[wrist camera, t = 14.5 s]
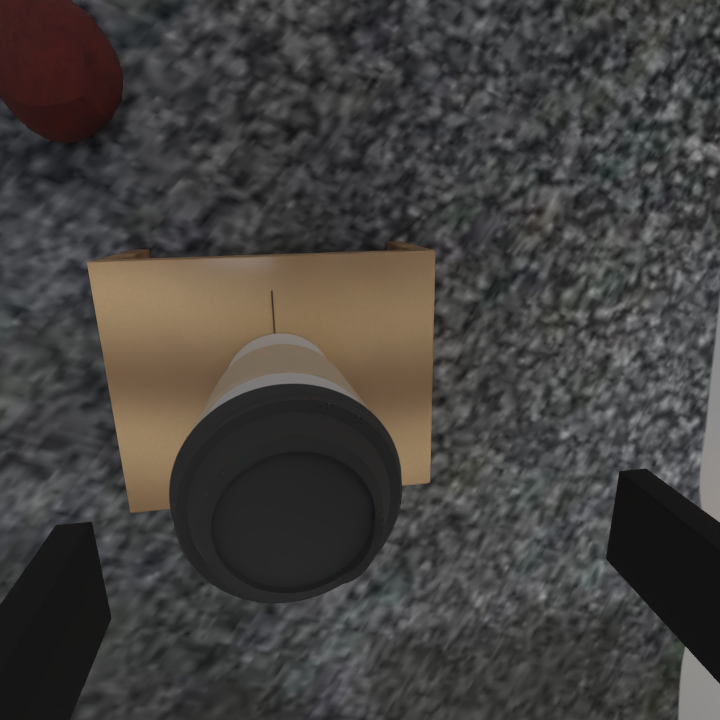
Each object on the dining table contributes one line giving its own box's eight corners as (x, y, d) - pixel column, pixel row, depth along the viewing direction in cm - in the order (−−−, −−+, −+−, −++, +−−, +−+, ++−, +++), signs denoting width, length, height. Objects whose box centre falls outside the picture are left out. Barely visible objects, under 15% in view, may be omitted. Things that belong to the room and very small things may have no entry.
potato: (132, 17, 33) (101, -24, 27) (135, 153, 35) (108, 143, 29) (6, -3, 32) (-54, -50, 26) (18, 140, 34) (-35, 126, 28)
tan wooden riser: (131, 249, 37) (85, 262, 28) (401, 241, 40) (436, 250, 31) (161, 448, 41) (129, 514, 33) (400, 428, 44) (430, 483, 35)
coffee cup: (180, 419, 31) (111, 596, 17) (244, 289, 30) (228, 363, 15) (310, 471, 34) (345, 662, 20) (376, 354, 32) (465, 469, 18)
